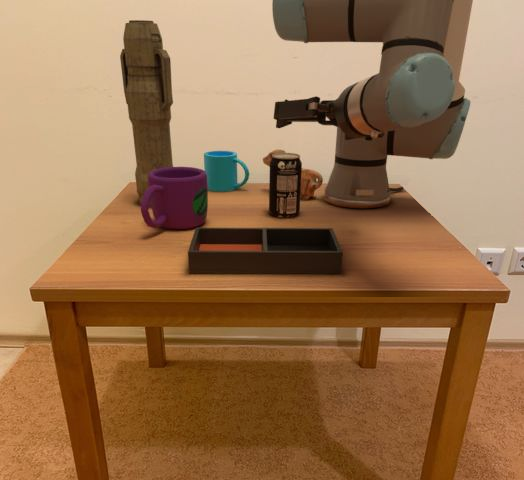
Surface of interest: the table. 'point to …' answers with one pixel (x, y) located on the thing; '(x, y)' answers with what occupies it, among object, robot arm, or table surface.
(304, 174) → the figurine
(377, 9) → the robot arm
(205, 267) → the tray
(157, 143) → the stone statue
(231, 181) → the mug
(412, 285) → the table surface
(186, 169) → the mug
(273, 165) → the beverage can
